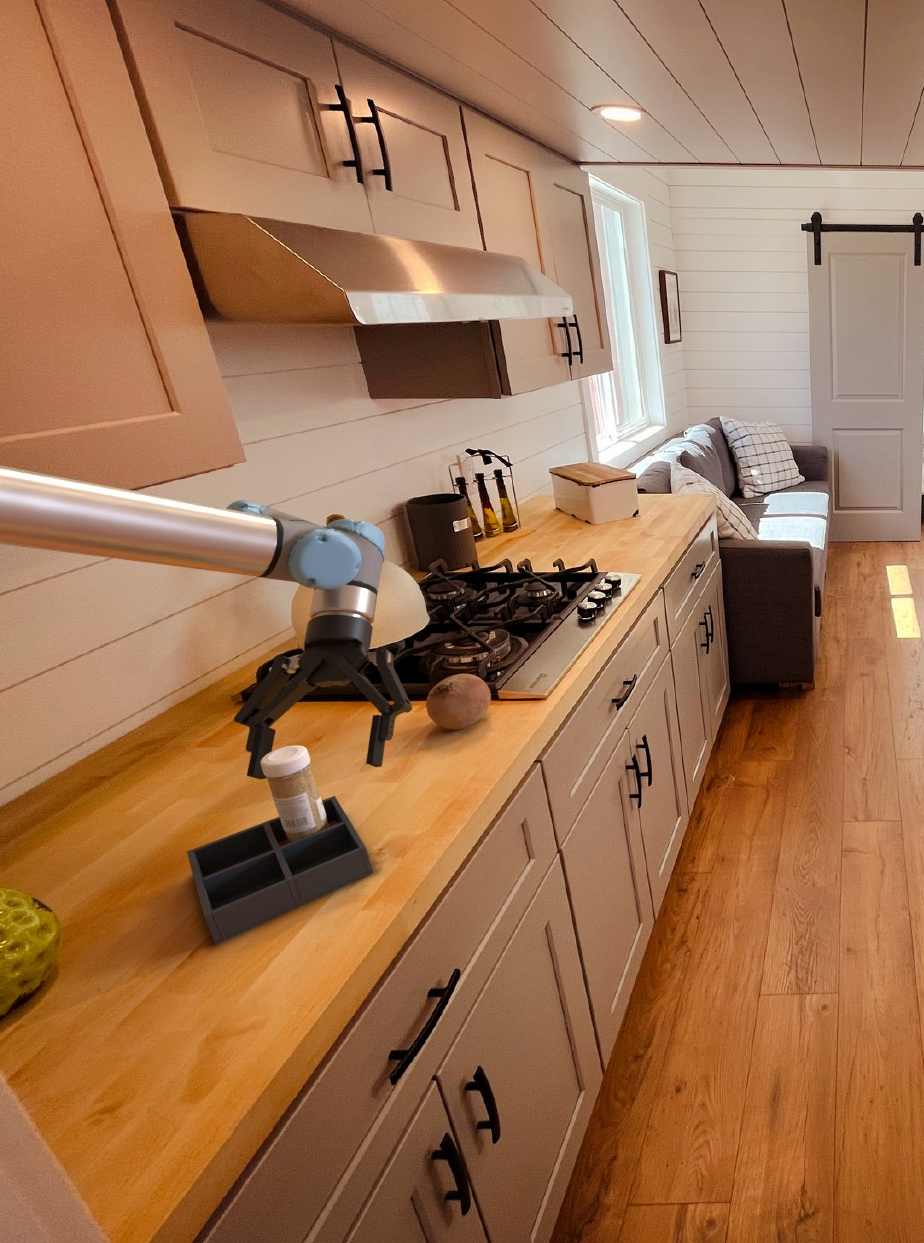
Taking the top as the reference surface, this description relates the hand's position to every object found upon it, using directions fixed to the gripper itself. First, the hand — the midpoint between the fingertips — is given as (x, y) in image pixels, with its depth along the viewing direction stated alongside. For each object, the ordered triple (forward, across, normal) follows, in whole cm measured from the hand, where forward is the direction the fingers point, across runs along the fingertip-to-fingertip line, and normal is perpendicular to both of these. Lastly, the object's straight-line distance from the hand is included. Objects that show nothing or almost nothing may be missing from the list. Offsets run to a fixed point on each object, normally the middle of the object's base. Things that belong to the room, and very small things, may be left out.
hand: (316, 771), depth 93 cm
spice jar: (+9, 0, -2) cm, 9 cm away
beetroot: (-11, -9, -23) cm, 28 cm away
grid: (+13, +1, +1) cm, 13 cm away
